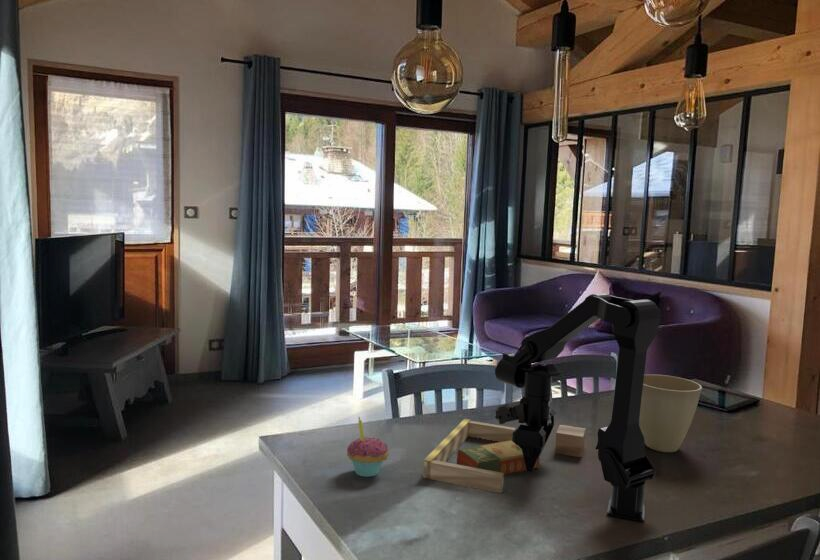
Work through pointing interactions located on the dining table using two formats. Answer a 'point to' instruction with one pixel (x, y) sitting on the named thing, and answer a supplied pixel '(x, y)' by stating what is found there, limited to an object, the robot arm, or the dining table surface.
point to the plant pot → (667, 410)
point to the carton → (494, 457)
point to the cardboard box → (570, 440)
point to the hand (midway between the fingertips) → (533, 463)
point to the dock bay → (458, 473)
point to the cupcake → (367, 454)
